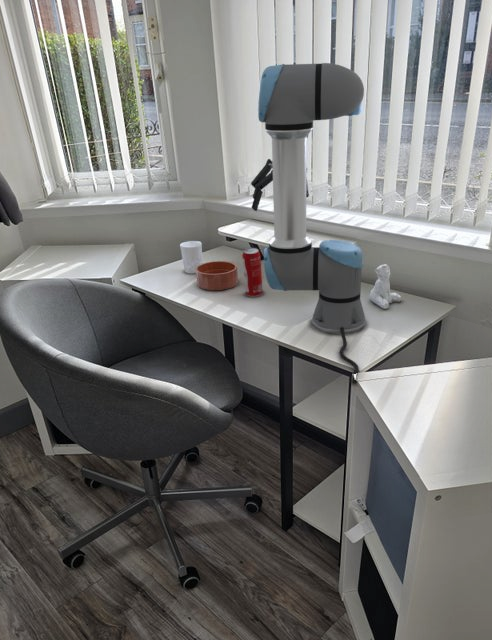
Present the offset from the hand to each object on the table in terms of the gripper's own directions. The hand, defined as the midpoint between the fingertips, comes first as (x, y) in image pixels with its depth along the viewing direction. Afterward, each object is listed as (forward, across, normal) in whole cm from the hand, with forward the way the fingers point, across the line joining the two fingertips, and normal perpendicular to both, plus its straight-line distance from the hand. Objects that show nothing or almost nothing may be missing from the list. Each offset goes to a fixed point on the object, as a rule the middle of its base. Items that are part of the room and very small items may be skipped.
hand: (272, 213), depth 175 cm
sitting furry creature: (+18, -41, -11) cm, 46 cm away
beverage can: (+26, -1, -4) cm, 27 cm away
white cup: (+22, +32, -15) cm, 42 cm away
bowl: (+26, +16, -7) cm, 31 cm away
